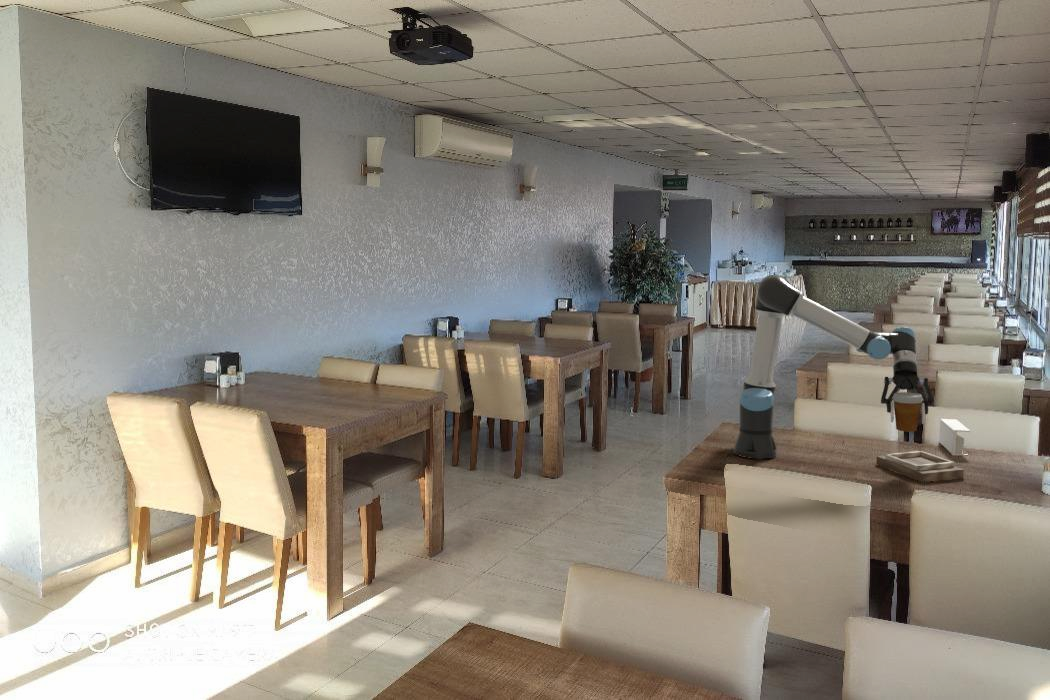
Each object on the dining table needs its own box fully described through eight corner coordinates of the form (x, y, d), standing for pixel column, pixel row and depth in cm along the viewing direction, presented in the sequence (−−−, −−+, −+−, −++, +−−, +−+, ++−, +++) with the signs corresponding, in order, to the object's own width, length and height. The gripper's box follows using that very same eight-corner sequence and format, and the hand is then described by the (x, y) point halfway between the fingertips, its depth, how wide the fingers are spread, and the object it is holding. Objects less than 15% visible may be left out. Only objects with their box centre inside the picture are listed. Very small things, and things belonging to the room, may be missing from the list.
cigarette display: (968, 456, 296) (970, 430, 295) (951, 455, 297) (953, 430, 296) (953, 442, 315) (955, 418, 314) (937, 441, 317) (939, 418, 315)
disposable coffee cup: (885, 429, 279) (886, 394, 278) (900, 425, 285) (901, 391, 283) (912, 434, 272) (914, 398, 270) (927, 429, 278) (929, 394, 276)
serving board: (922, 482, 265) (923, 469, 264) (876, 464, 286) (877, 451, 285) (963, 478, 269) (964, 465, 269) (914, 460, 290) (915, 448, 290)
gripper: (872, 358, 288) (873, 412, 276) (940, 360, 281) (945, 416, 269) (870, 371, 294) (872, 425, 281) (937, 373, 287) (942, 428, 274)
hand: (908, 420), depth 275 cm, fingers closed on disposable coffee cup, 9 cm apart
